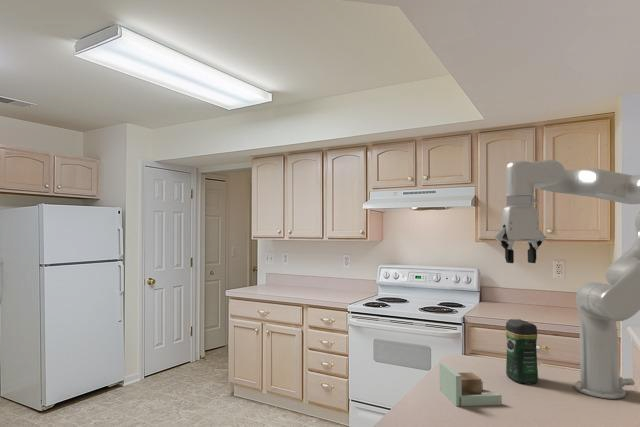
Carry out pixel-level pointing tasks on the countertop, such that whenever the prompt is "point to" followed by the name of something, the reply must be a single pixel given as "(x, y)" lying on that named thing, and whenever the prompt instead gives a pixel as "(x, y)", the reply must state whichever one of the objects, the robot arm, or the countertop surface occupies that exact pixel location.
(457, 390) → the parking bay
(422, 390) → the countertop surface
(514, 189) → the robot arm
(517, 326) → the coffee jar
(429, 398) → the countertop surface
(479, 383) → the walnut block
